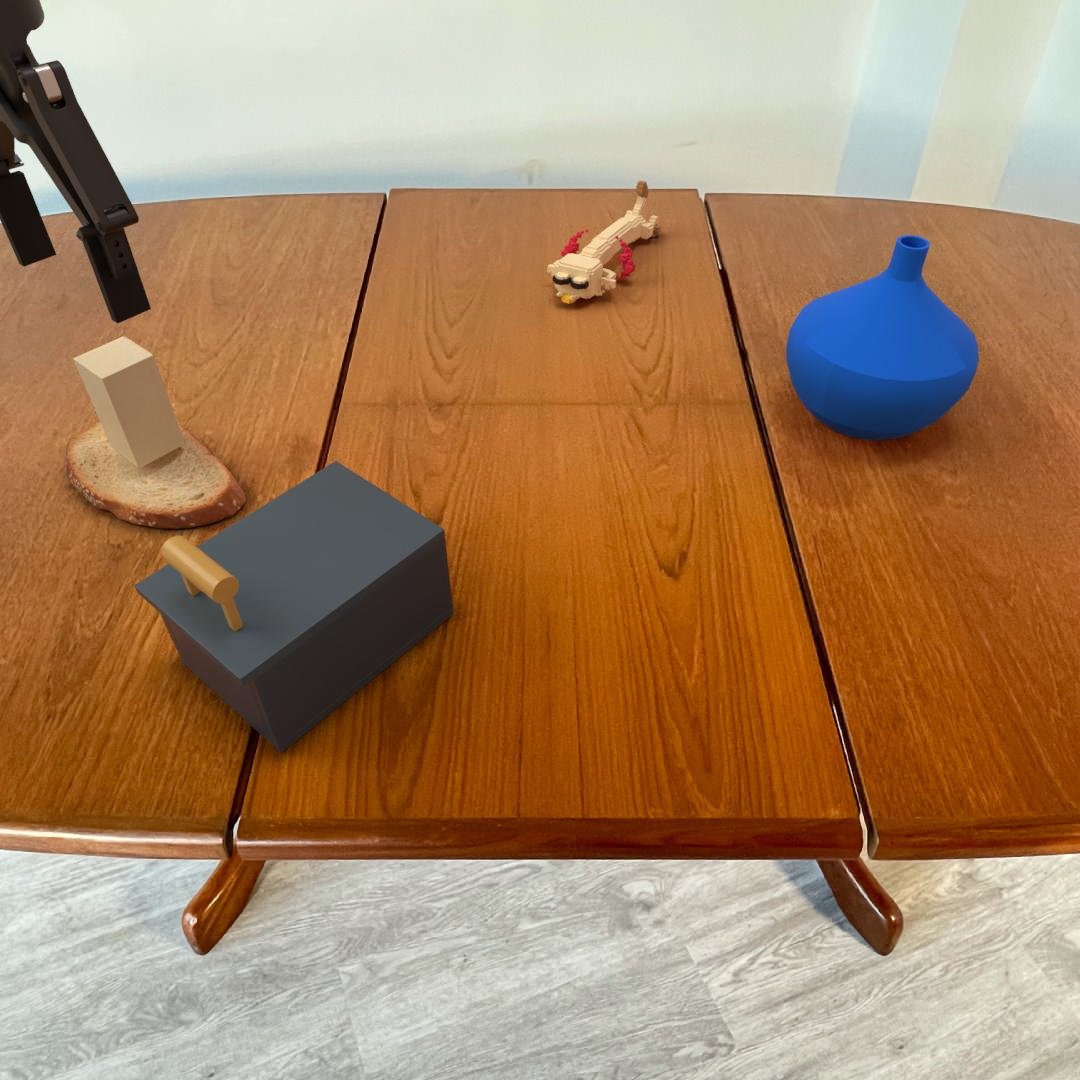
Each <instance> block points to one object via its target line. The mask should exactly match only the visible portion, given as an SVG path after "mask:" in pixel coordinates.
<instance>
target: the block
mask: <svg viewBox="0 0 1080 1080" xmlns="http://www.w3.org/2000/svg"><path fill="white" fill-rule="evenodd" d="M72 360H73V362H74V364H75V366H76V369H77V371H78V374H79V376H80V379H81V380H82V383H83V385H84V388H85V390H86V392H87V394H88V397H89V399H90V401H91V403H92V406H93V409H94V410H95V413H96V415H97V417H98V421H100V422H101V425H102V427H103V429H104V431H105V434H106V436H107V438H108V441H109V443H110V445H111V447H112V448H113V449H114V450H116V451H117V452H118V453H119V454H121V455H122V456H123V457H125V458H126V459H127V460H129V461H130V462H131V463H133V464H134V465H135V466H137V467H138V468H141V467H143V466H145V465H147V464H149V463H151V462H152V461H154V460H156V459H158V458H160V457H162V456H164V455H166V454H167V453H169V452H171V451H173V450H175V449H177V448H179V447H180V446H182V445H184V444H185V442H184V439H183V436H182V433H181V430H180V428H179V425H180V424H179V422H178V420H177V416H176V414H175V411H174V408H173V406H172V403H171V400H170V397H169V394H168V391H167V389H166V386H165V383H164V380H163V377H162V375H161V371H160V369H159V367H158V364H157V361H156V358H155V355H154V354H153V353H151V352H150V351H148V350H146V349H145V348H144V347H142V346H141V345H139V344H137V343H136V342H134V341H132V340H131V339H129V338H128V337H126V336H125V335H122V336H121V337H119V338H116V339H114V340H112V341H109V342H107V343H104V344H102V345H100V346H98V347H95V348H94V349H91V350H89V351H87V352H84V353H82V354H79V355H78V356H75V357H73V358H72ZM178 424H179V425H178Z"/></svg>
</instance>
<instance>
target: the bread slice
mask: <svg viewBox="0 0 1080 1080" xmlns="http://www.w3.org/2000/svg"><path fill="white" fill-rule="evenodd" d="M178 425H179V428H180V430H181V433H182V436H183V439H184V442H185V444H184V445H182V446H180V447H179V448H177V449H175V450H173V451H171V452H169V453H167V454H166V455H164V456H162V457H160V458H158V459H156V460H154V461H152V462H151V463H149V464H147V465H145V466H143V467H141V468H138V467H137V466H135V465H134V464H133V463H131V462H130V461H129V460H127V459H126V458H125V457H123V456H122V455H121V454H119V453H118V452H117V451H116V450H114V449H113V448H112V447H111V445H110V443H109V441H108V438H107V436H106V434H105V431H104V429H103V427H102V425H101V422H100V420H98V421H97V422H96V423H94V424H93V425H92V426H90V427H88V428H87V429H85V430H83V431H82V432H80V433H78V434H76V435H74V436H72V437H71V438H70V439H69V441H68V442H67V445H66V449H65V456H64V468H65V471H66V473H67V475H68V476H69V480H70V482H71V484H72V485H73V486H74V487H75V488H76V490H77V491H78V492H79V494H80V495H82V496H83V497H85V499H86V500H87V501H89V502H90V503H91V504H92V505H93V507H95V508H96V509H99V510H102V511H103V510H104V511H108V512H110V513H112V514H114V515H115V517H116V518H118V519H119V520H121V521H125V522H128V523H131V524H133V525H139V526H146V527H150V528H157V529H164V530H165V529H192V528H195V527H200V526H201V527H202V526H207V525H210V524H213V523H216V522H219V521H222V520H225V519H227V518H229V517H233V516H234V515H235V514H236V513H238V512H239V511H240V510H241V508H242V507H243V506H244V505H245V503H246V500H247V499H246V496H245V493H244V490H243V489H242V487H241V486H240V485H239V484H238V482H237V481H236V479H235V477H234V475H233V474H232V473H231V471H230V470H229V469H228V468H227V467H226V465H225V464H224V462H223V461H222V460H221V459H219V458H218V457H217V456H216V455H215V454H214V453H213V452H212V451H211V450H210V449H209V448H208V447H206V446H205V445H204V443H202V442H201V441H200V440H199V439H198V438H197V437H196V436H194V434H193V433H191V431H188V430H187V429H186V428H185V427H183V425H181V424H179V423H178Z"/></svg>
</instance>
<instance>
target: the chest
mask: <svg viewBox="0 0 1080 1080" xmlns="http://www.w3.org/2000/svg"><path fill="white" fill-rule="evenodd" d="M453 607H454V606H453V597H452V587H451V579H450V571H449V559H448V551H447V542H446V536H445V537H444V538H443V539H442V540H440V541H439V542H438V543H436V544H435V545H434V546H432V547H431V548H430V549H428V550H427V551H425V552H424V553H423V554H421V555H420V556H419V557H417V558H416V559H415V560H413V561H412V562H411V563H409V564H408V565H407V566H405V567H404V568H403V569H401V570H400V571H398V572H397V573H396V574H394V575H393V576H392V577H390V578H389V579H388V580H386V581H385V582H384V583H382V584H381V585H380V586H378V587H377V588H376V589H374V590H373V591H371V592H370V593H369V594H367V595H366V596H365V597H363V598H362V599H361V600H359V601H358V602H357V603H355V604H354V605H353V606H351V607H350V608H349V609H347V610H346V611H344V612H343V613H342V614H340V615H339V616H338V617H336V618H335V619H334V620H332V621H331V622H330V623H328V624H327V625H326V626H324V627H323V628H322V629H320V630H319V631H317V632H316V633H315V634H313V635H312V636H311V637H309V638H308V639H307V640H305V641H304V642H303V643H301V644H300V645H299V646H297V647H296V648H295V649H293V650H292V651H290V652H289V653H288V654H286V655H285V656H284V657H282V658H281V659H280V660H278V661H277V662H276V663H274V664H273V665H272V666H270V667H269V668H268V669H266V670H265V671H263V672H262V673H261V674H259V675H258V676H257V677H255V678H254V679H253V680H251V681H250V682H249V683H247V684H246V685H245V686H242V685H241V684H240V683H238V682H237V681H236V680H235V679H234V678H233V677H232V676H231V675H229V674H228V673H227V672H226V671H225V670H224V669H223V668H222V667H220V666H219V665H218V664H217V663H216V662H215V661H214V660H213V659H211V658H210V657H209V656H208V655H207V654H206V653H205V652H204V651H202V650H201V649H200V648H199V647H198V646H197V645H196V644H195V643H193V642H192V641H191V640H190V639H189V638H188V637H187V636H186V635H184V634H183V633H182V632H181V631H180V630H179V629H178V628H177V627H175V626H174V625H173V624H172V623H171V622H170V621H169V620H168V619H166V618H165V617H164V616H163V615H162V614H161V613H160V612H159V615H160V617H161V619H162V621H163V623H164V625H165V627H166V630H167V632H168V634H169V636H170V639H171V641H172V643H173V645H174V647H175V650H176V651H177V654H178V656H179V658H180V660H181V662H182V664H183V665H184V666H185V667H187V669H189V671H191V672H192V673H193V674H194V675H195V676H196V677H197V678H198V679H199V680H201V681H202V682H203V683H204V684H205V685H206V686H207V687H208V688H209V689H210V690H211V691H212V692H213V693H215V694H216V696H218V697H219V698H220V699H221V700H222V701H224V702H225V704H227V705H228V706H229V707H230V708H231V710H234V712H235V713H237V714H238V715H239V716H240V717H241V718H242V719H243V720H244V721H245V723H246V722H247V724H248V725H250V726H251V727H252V728H253V729H254V730H255V731H256V732H257V733H259V735H260V736H262V737H263V739H265V740H266V741H267V742H268V743H269V744H271V746H272V747H274V748H275V749H276V751H278V752H279V753H280V754H283V753H284V752H286V751H287V749H289V748H290V747H291V746H293V744H295V743H296V742H297V741H299V740H300V739H301V738H302V737H303V736H305V735H306V734H307V733H309V732H310V731H311V730H312V729H313V728H315V727H316V726H317V725H318V724H319V723H320V722H322V721H323V720H325V719H326V718H327V717H328V716H329V715H331V714H333V712H335V711H336V710H337V709H339V708H340V707H341V705H343V704H345V702H347V701H348V700H349V699H350V698H352V697H353V696H354V695H355V694H357V693H358V692H359V691H361V689H363V688H364V687H365V686H367V685H368V684H369V683H370V682H372V680H374V679H375V678H377V677H378V676H379V675H380V674H381V673H382V672H384V671H385V670H386V669H387V668H389V667H390V666H391V665H393V664H394V663H395V662H396V661H398V659H400V658H401V657H402V656H403V655H405V654H406V653H407V652H409V650H411V649H412V648H413V647H415V646H416V645H417V644H418V643H419V642H421V641H422V640H423V639H425V638H426V637H427V636H428V635H430V634H431V633H432V632H433V631H434V630H436V629H437V628H438V627H439V626H441V625H442V624H443V623H444V622H446V621H447V620H448V619H449V618H451V617H452V616H453V615H454V608H453Z"/></svg>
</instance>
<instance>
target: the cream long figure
mask: <svg viewBox="0 0 1080 1080" xmlns="http://www.w3.org/2000/svg"><path fill="white" fill-rule="evenodd" d="M635 192H636V195H638V196H637V199H636V200H635V201H636V202H635V204H634V206H633V209H632V210H629V209H628V210H627V211H626V212H625V215H624V216H623V217H620V218H618V219H617V220H616V221H615V222H613V223H612V224H610V225H609V226H608V227H607V228H605V229H604V230H603V231H601V232H599V234H597V235H596V236H595V237H594V238H592V239H591V242H589V243H588V244H587V245H586V246H585V247H583V248H582V249H581V252H580V253H578V254H577V252H579V251H580V243H578V239H582V238H583V234H585V233H589V229H588V228H586V229H585V230H581V231H576V235H571V237H569V240H568V243H567V244H566V245H565V246H564V249H563V250H561V253H560V256H561V258H560V259H557V260H556V261H554V262H552V263H549V264H548V265H547V269H546V271H547V273H549V274H550V275H551V277H552V282H553V283H554V284H553V285H554V286H553V287H555V289H556V290H557V291H558V292H557V293H556V297H559V298H561V301H562V303H565V304H568V305H569V304H574V303H575V302H576V301H577V300H578V299H580V298H581V299H585V300H588V299H591V298H592V297H594V296H595V297H599V296H600V297H601V296H603V294H605V293H606V290H608V291H610V290H612V289H615V288H616V287H617V282H618V281H619V280H621V281H622V280H624V279H625V278H629V277H630V276H631V274H632V273H634V272H635V271H636V263H635V262H634V260H633V250H631V248H630V247H627V246H628V245H630V244H631V243H634V242H636V241H637V240H638V239H644V240H648V239H649V238H655V237H656V236H657V235H659V234H661V232H662V225H659V224H658V223H659V216H658V215H654V214H653V215H651V216H649V219H648V220H646V219H645V217H644V216H643V214H642V211H643V208H644V207H645V204H646V201H647V198H649V197H648V196H649V186H648V183H647V181H644V180H638V181H637V183H636V188H635ZM621 249H623V252H624V253H620V254H619V256H618V261H619V263H620V264H622V271H620V276H619V277H617V273H616V271H614V270H613V271H612V270H611V269H608V268H604V266H605V264H607V263H608V262H609V261H610V260H612V259H613V256H614V255H615V254H616V253H618V252H619V251H621ZM602 287H604V289H602Z"/></svg>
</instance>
